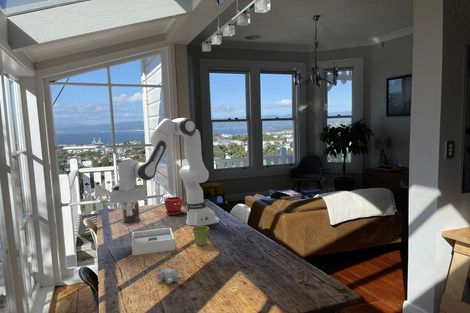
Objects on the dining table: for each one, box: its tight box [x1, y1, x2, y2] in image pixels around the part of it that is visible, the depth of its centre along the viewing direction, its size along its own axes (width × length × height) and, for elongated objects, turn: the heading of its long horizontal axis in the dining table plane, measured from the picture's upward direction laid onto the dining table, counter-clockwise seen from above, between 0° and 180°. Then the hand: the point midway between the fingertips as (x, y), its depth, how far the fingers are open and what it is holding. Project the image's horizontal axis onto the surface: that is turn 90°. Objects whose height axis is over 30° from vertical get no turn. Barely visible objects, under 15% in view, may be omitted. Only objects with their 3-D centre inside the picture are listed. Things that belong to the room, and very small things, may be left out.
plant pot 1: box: [164, 196, 183, 216], centre depth 267 cm, size 13×13×12 cm
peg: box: [126, 202, 133, 216], centre depth 208 cm, size 3×3×10 cm
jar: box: [121, 201, 141, 223], centre depth 254 cm, size 12×12×15 cm
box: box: [131, 227, 176, 256], centre depth 197 cm, size 22×22×6 cm
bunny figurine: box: [156, 267, 186, 284], centre depth 152 cm, size 10×5×15 cm
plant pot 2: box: [191, 225, 210, 246], centre depth 197 cm, size 9×9×9 cm
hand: (129, 208), depth 208 cm, fingers closed on peg, 3 cm apart
